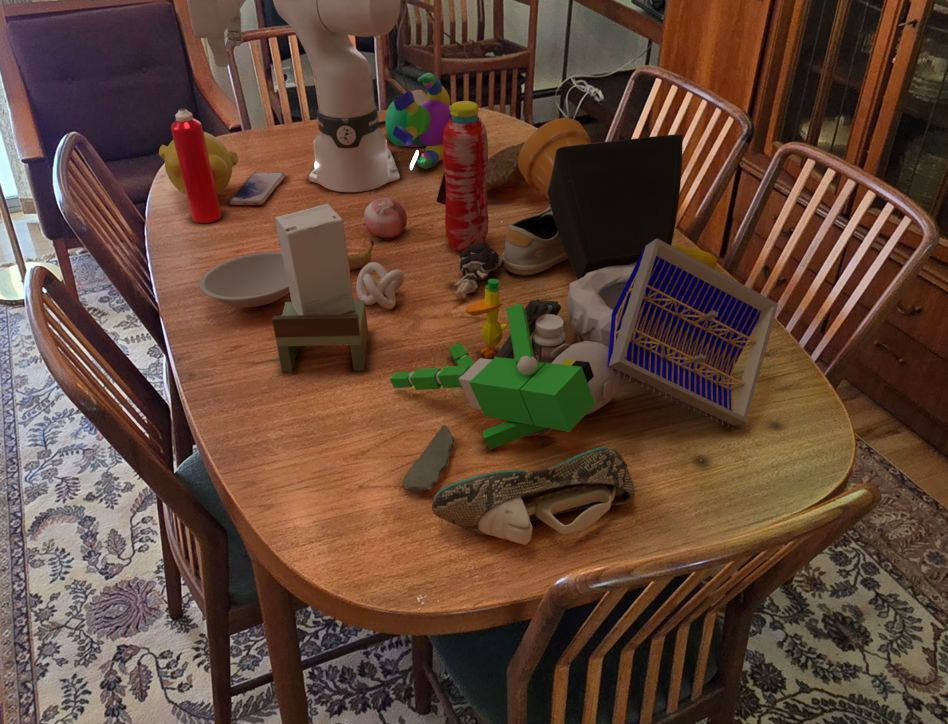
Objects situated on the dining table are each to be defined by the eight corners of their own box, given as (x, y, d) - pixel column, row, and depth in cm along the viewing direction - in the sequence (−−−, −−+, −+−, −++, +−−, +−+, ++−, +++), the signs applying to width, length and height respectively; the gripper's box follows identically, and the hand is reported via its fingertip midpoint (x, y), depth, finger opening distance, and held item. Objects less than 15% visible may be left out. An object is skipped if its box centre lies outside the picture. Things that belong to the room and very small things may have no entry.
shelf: (291, 335, 133) (282, 284, 127) (368, 334, 133) (362, 282, 127) (282, 372, 126) (271, 319, 120) (363, 370, 126) (357, 317, 120)
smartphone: (228, 201, 168) (253, 172, 180) (229, 206, 169) (254, 176, 180) (262, 201, 167) (285, 171, 178) (263, 206, 168) (286, 176, 179)
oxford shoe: (635, 228, 159) (641, 183, 154) (534, 286, 144) (536, 239, 138) (588, 211, 165) (592, 167, 159) (486, 265, 149) (486, 219, 144)
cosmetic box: (342, 294, 131) (330, 201, 121) (357, 312, 127) (346, 217, 117) (289, 308, 128) (273, 213, 118) (303, 327, 124) (287, 230, 114)
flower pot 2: (698, 241, 125) (683, 130, 126) (570, 256, 125) (556, 144, 126) (670, 278, 144) (657, 182, 145) (558, 291, 144) (546, 194, 145)
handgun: (512, 361, 138) (551, 297, 135) (524, 369, 138) (564, 304, 135) (482, 369, 120) (526, 295, 117) (496, 378, 120) (540, 304, 116)
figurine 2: (485, 304, 139) (514, 255, 148) (467, 270, 135) (498, 223, 145) (451, 313, 143) (482, 266, 152) (432, 280, 139) (464, 234, 149)
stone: (400, 497, 107) (434, 499, 104) (394, 485, 106) (429, 487, 103) (440, 433, 115) (473, 434, 113) (435, 421, 114) (468, 422, 111)
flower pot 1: (619, 153, 154) (586, 106, 159) (548, 180, 152) (517, 132, 157) (612, 208, 167) (581, 164, 172) (547, 234, 165) (518, 189, 170)
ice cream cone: (449, 118, 201) (425, 89, 210) (434, 109, 198) (410, 79, 206) (437, 136, 203) (413, 106, 212) (422, 126, 200) (399, 96, 208)
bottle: (215, 208, 168) (192, 102, 154) (225, 218, 164) (202, 110, 151) (188, 215, 166) (162, 108, 152) (198, 225, 162) (172, 117, 149)
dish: (288, 269, 149) (283, 242, 146) (327, 303, 140) (323, 276, 137) (192, 300, 142) (184, 273, 138) (227, 338, 133) (220, 310, 130)
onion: (367, 246, 156) (363, 208, 151) (362, 227, 161) (358, 190, 156) (410, 241, 157) (408, 204, 152) (404, 223, 162) (402, 186, 158)
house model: (617, 366, 107) (591, 377, 113) (744, 427, 112) (713, 434, 119) (658, 233, 110) (631, 251, 117) (779, 299, 116) (747, 312, 123)
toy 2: (588, 316, 115) (579, 365, 123) (503, 371, 109) (499, 419, 118) (643, 360, 111) (630, 408, 119) (557, 420, 105) (550, 466, 114)
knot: (345, 307, 140) (341, 274, 136) (372, 285, 145) (369, 253, 141) (385, 318, 137) (382, 285, 133) (410, 295, 142) (408, 263, 138)
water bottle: (425, 237, 158) (417, 96, 141) (460, 226, 161) (457, 86, 145) (463, 262, 151) (460, 116, 134) (499, 249, 154) (500, 105, 137)
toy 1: (466, 370, 131) (627, 392, 110) (403, 431, 124) (561, 466, 103) (430, 291, 123) (596, 299, 102) (360, 351, 116) (523, 372, 95)
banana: (330, 281, 146) (327, 260, 143) (322, 276, 147) (319, 255, 145) (379, 263, 151) (377, 242, 148) (371, 258, 152) (369, 237, 149)
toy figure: (473, 366, 126) (472, 293, 118) (462, 354, 129) (460, 282, 121) (512, 353, 129) (514, 281, 121) (500, 342, 131) (501, 270, 123)
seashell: (513, 152, 183) (547, 118, 169) (530, 192, 184) (566, 162, 170) (438, 175, 175) (468, 141, 161) (457, 217, 176) (488, 187, 162)
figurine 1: (418, 67, 167) (477, 81, 182) (364, 69, 174) (425, 82, 190) (414, 167, 173) (472, 172, 188) (362, 164, 180) (422, 169, 196)
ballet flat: (431, 472, 95) (460, 540, 90) (625, 428, 102) (661, 489, 97) (426, 515, 102) (452, 580, 97) (608, 470, 109) (641, 529, 104)
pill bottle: (528, 362, 127) (530, 313, 122) (560, 360, 127) (563, 311, 122) (533, 381, 124) (535, 331, 118) (565, 379, 124) (569, 329, 118)
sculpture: (235, 193, 164) (239, 207, 177) (236, 125, 162) (239, 144, 175) (153, 187, 160) (162, 201, 174) (152, 117, 159) (162, 137, 172)
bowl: (606, 398, 120) (614, 337, 113) (540, 327, 134) (543, 269, 127) (729, 364, 126) (743, 304, 119) (654, 299, 140) (662, 242, 133)
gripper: (215, -43, 103) (239, 78, 112) (245, -76, 118) (264, 33, 127) (163, -42, 103) (191, 79, 112) (199, -75, 118) (221, 34, 127)
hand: (230, 54), depth 120 cm, fingers open, 8 cm apart
